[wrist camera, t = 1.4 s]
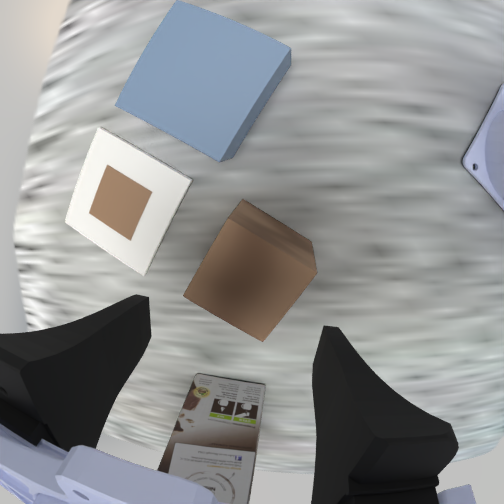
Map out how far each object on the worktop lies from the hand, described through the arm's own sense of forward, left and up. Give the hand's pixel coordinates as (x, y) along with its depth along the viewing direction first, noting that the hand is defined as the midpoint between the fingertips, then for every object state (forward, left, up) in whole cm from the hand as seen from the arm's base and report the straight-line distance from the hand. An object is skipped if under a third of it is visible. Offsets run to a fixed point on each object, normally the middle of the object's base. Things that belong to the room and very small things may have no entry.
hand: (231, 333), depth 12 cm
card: (+10, +2, -9) cm, 14 cm away
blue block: (+8, -8, -10) cm, 15 cm away
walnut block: (0, 0, -9) cm, 9 cm away
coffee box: (-6, +15, -9) cm, 19 cm away
